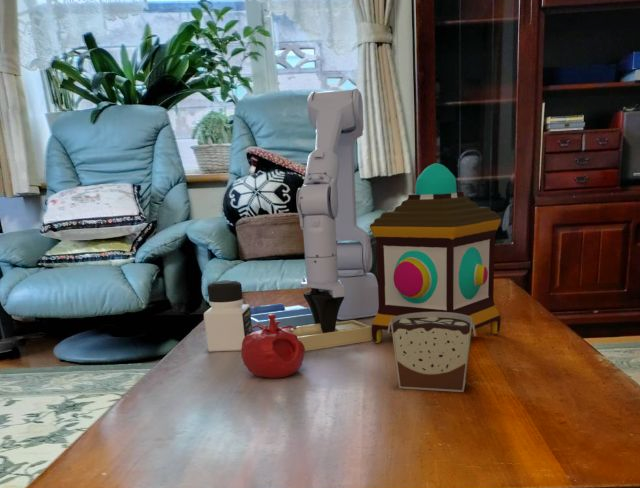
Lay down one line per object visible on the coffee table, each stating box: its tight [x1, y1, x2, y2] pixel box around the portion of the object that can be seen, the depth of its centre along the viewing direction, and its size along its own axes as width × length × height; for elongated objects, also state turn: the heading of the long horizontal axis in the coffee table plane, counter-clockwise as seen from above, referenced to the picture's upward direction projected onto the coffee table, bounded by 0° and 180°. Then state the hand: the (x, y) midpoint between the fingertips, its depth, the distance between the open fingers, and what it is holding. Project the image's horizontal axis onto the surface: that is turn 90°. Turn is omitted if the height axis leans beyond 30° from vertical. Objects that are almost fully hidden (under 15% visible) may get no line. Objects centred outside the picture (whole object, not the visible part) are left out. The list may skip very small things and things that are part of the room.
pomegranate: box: [240, 314, 306, 379], centre depth 106 cm, size 10×10×9 cm
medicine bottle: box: [203, 279, 253, 353], centre depth 124 cm, size 7×7×12 cm
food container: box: [387, 312, 477, 393], centre depth 97 cm, size 12×6×10 cm, turn 71°
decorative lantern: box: [369, 162, 502, 344], centre depth 120 cm, size 20×20×30 cm
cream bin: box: [291, 319, 373, 352], centre depth 125 cm, size 15×8×3 cm, turn 116°
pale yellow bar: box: [294, 323, 360, 337], centre depth 125 cm, size 12×4×3 cm, turn 116°
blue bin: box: [251, 306, 315, 333], centre depth 140 cm, size 15×8×3 cm, turn 116°
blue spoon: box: [250, 303, 306, 315], centre depth 149 cm, size 12×4×3 cm, turn 116°
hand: (325, 331), depth 125 cm, fingers closed on pale yellow bar, 2 cm apart
